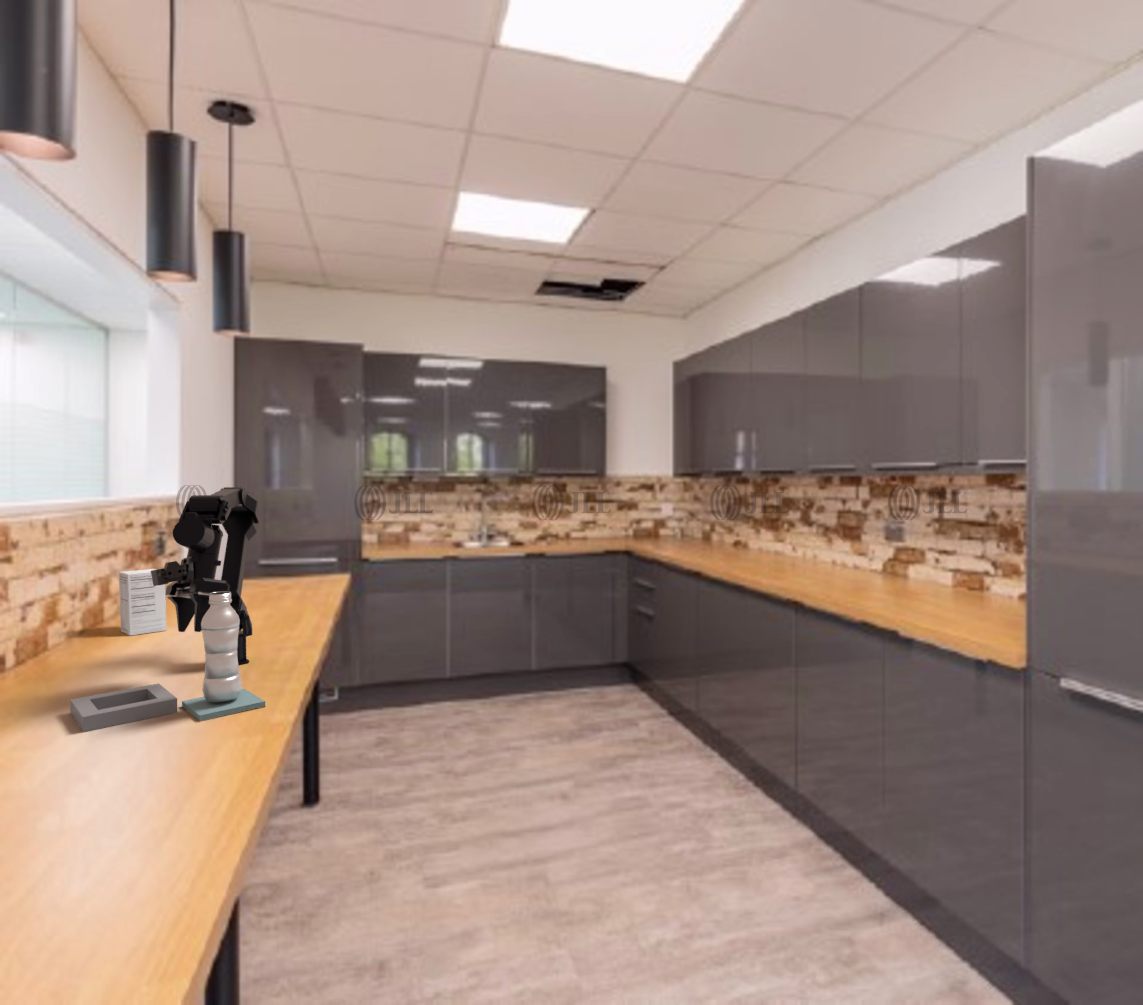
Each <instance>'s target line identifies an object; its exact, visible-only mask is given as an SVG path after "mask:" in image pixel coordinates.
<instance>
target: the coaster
mask: <svg viewBox="0 0 1143 1005" xmlns="http://www.w3.org/2000/svg"><path fill="white" fill-rule="evenodd" d="M182 706H183V707H184V708H183V707H182ZM264 706H265V707H266V700H264V699H262V698H260V697H259V696H257V695H256V694H254V693H253V692H251V691H249V690H247V689H246V688H241V693H240V694H239V696H238V697H237V698H235V699H233V700H230V701H225V702H208V701H207V700H206V699H205V698H204V696H202V697H201V696H200V697H196V698H192V699H186V700H182V701H181V707H182V708H183V709H185V710H186V711H187V710H188V711H189V712H190V714H191V715H192V716H193V717H194V718H195V717H196V718H195V719H196V720H198V721H199V722H202V721H201V720H203V721H207V720H206V719H208V720H211V718H212V719H216V718H215V717H217V718H220V716H221V717H225V715H226V716H229V715H233V714H234V713H235V714H239V713H243V712H242V711H244V712H247V711H246V710H248V711H252V710H251V709H253V710H256V709H255V708H257V709H260V708H259V707H262V708H265V707H264ZM188 711H187V712H188ZM189 712H188V713H189ZM238 712H239V713H238ZM235 714H234V715H235Z"/></svg>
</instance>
